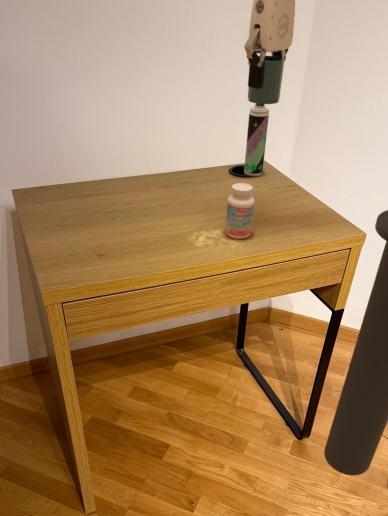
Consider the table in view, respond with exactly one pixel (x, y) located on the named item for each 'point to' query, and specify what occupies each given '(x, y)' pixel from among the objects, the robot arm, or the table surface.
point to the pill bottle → (240, 211)
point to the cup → (268, 82)
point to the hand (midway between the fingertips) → (264, 84)
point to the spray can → (256, 140)
